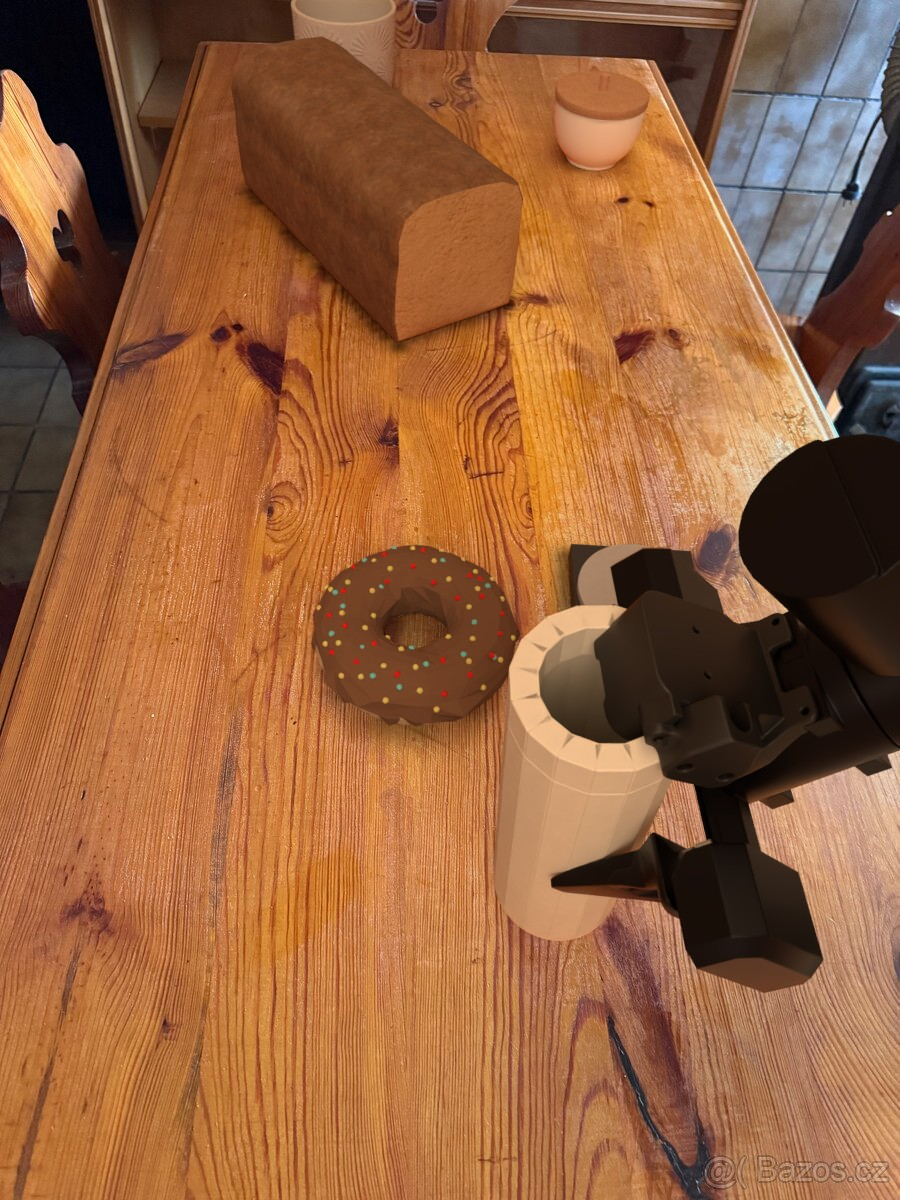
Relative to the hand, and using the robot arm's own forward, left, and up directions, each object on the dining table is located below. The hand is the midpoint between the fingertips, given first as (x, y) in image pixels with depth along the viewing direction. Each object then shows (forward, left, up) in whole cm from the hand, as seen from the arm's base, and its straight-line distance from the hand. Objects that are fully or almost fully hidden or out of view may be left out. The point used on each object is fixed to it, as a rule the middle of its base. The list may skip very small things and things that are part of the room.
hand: (547, 808), depth 42 cm
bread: (+67, -18, -12) cm, 71 cm away
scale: (+15, -17, -11) cm, 26 cm away
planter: (+100, -28, -12) cm, 104 cm away
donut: (+18, -1, -12) cm, 21 cm away
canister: (0, -2, -10) cm, 10 cm away
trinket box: (+76, -50, -12) cm, 91 cm away
